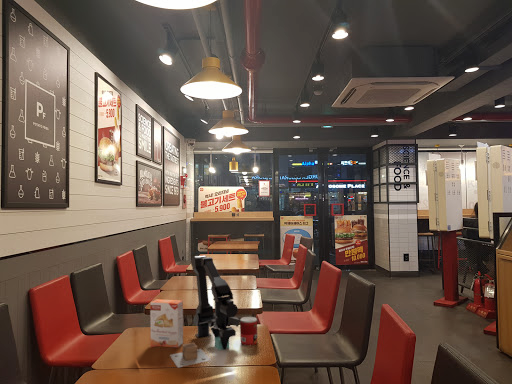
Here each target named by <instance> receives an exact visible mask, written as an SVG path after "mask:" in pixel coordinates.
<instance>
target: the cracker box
mask: <svg viewBox="0 0 512 384" xmlns="http://www.w3.org/2000/svg"><path fill="white" fill-rule="evenodd" d="M183 304H184V301H183V300H182V299H181V300H179V299H177V300H176V299H161V298H160V299H158V298H156V299H154V300H152V301H150V304H149V305H150V311H149V313H150V314H149V315H150V348H154V347H166V348H167V347H168V348H169V347H170V348H179V347H180V346H182V345H183V344H184V305H183Z"/></svg>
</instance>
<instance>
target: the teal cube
mask: <svg viewBox="0 0 512 384" xmlns="http://www.w3.org/2000/svg"><path fill="white" fill-rule="evenodd" d="M214 347H215V348H216V349H217V350H218V351H221V350H224V349H223V347H222V344H221V341H220V338H219V337H215V336H214ZM226 349H230V339H229V340H228V344H227V347H226Z"/></svg>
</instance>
